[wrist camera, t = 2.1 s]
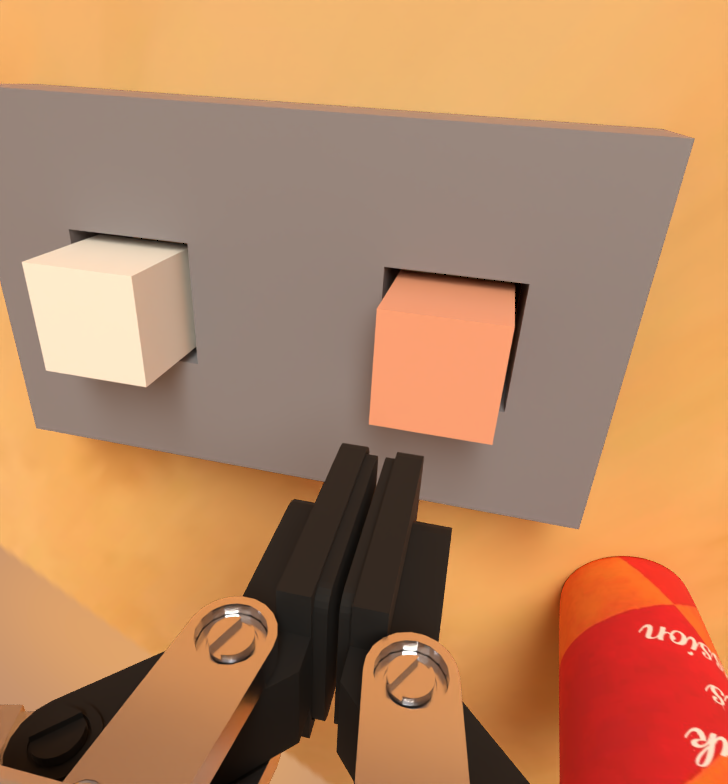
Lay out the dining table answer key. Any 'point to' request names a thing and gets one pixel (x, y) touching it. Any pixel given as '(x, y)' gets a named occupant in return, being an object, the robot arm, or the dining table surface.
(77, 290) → the cream cube block
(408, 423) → the peach square button
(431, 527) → the robot arm
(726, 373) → the dining table surface
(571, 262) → the button panel
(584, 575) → the coffee cup
